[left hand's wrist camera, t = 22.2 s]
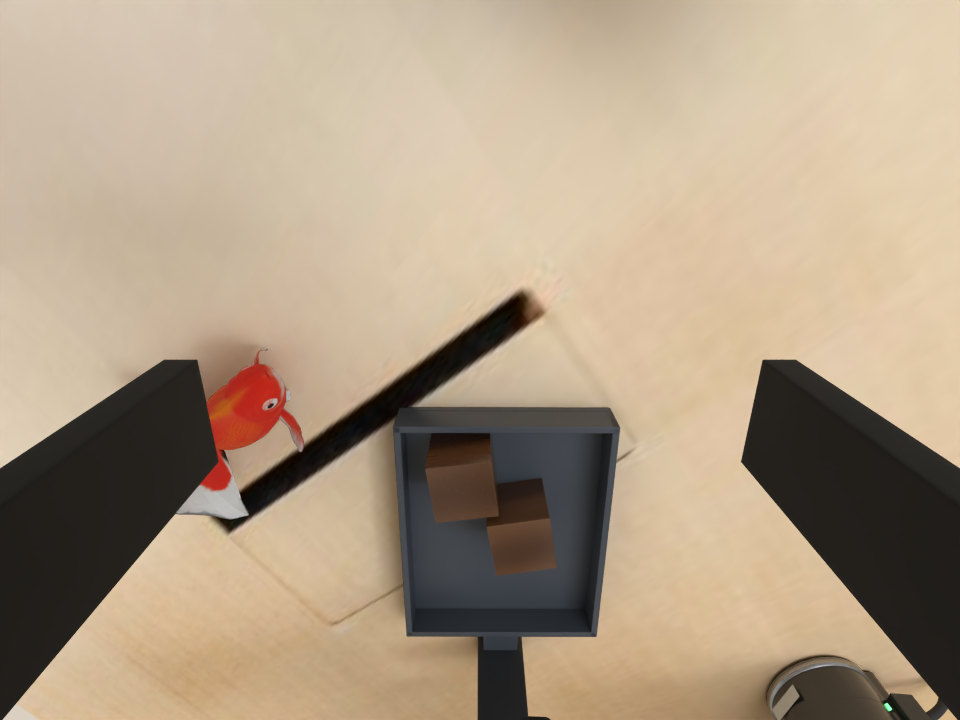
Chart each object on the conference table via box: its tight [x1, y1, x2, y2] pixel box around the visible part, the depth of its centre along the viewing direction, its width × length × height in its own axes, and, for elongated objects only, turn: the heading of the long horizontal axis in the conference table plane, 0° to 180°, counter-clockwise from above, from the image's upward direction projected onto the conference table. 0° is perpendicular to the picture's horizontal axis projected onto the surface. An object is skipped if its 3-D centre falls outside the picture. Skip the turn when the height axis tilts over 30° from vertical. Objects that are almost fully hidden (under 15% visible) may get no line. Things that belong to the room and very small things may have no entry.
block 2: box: [486, 478, 557, 576], centre depth 40 cm, size 4×4×5 cm
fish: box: [175, 348, 304, 519], centre depth 37 cm, size 11×16×10 cm
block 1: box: [425, 433, 499, 523], centre depth 39 cm, size 4×4×5 cm
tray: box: [393, 407, 620, 720], centre depth 40 cm, size 25×16×10 cm, turn 0°
